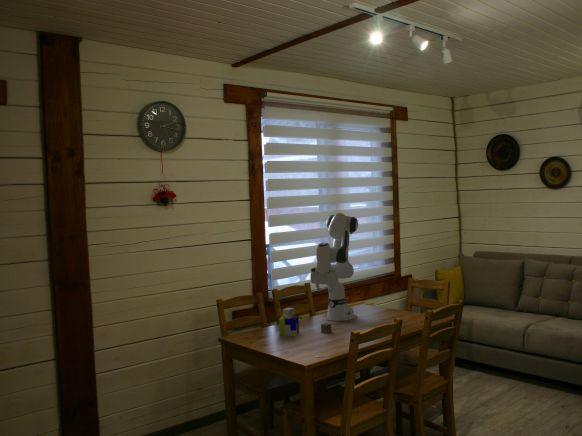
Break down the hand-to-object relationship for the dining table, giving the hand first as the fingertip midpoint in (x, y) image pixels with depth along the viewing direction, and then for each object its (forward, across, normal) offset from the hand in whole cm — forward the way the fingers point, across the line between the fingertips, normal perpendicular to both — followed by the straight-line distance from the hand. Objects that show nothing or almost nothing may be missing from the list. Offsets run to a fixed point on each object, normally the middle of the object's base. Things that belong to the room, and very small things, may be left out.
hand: (324, 291), depth 321 cm
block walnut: (+25, 0, 0) cm, 25 cm away
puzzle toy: (+25, +15, +17) cm, 34 cm away
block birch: (+15, +15, +17) cm, 27 cm away
